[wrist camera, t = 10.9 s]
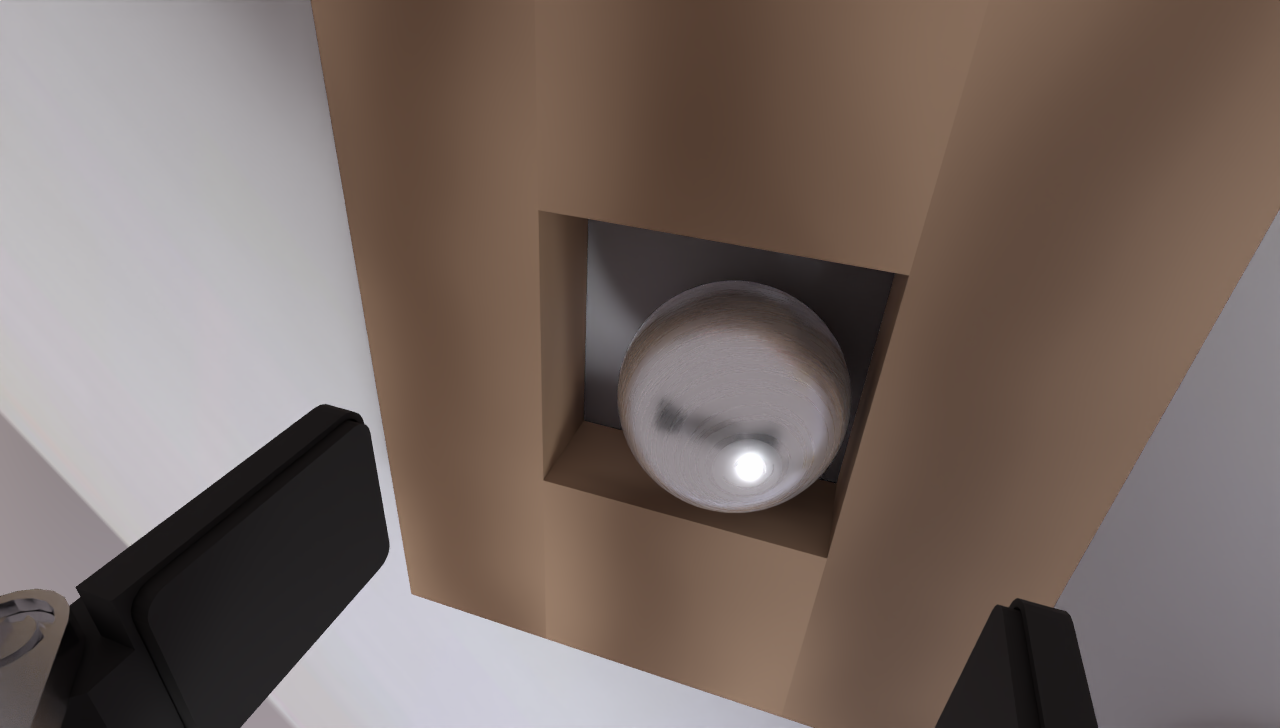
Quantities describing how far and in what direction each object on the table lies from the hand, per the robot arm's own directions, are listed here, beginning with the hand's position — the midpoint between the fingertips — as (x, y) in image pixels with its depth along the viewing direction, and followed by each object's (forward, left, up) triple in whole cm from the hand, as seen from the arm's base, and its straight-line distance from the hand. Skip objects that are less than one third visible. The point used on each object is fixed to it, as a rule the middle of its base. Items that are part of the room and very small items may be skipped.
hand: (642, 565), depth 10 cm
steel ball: (0, 0, -5) cm, 5 cm away
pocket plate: (0, 0, -7) cm, 7 cm away
